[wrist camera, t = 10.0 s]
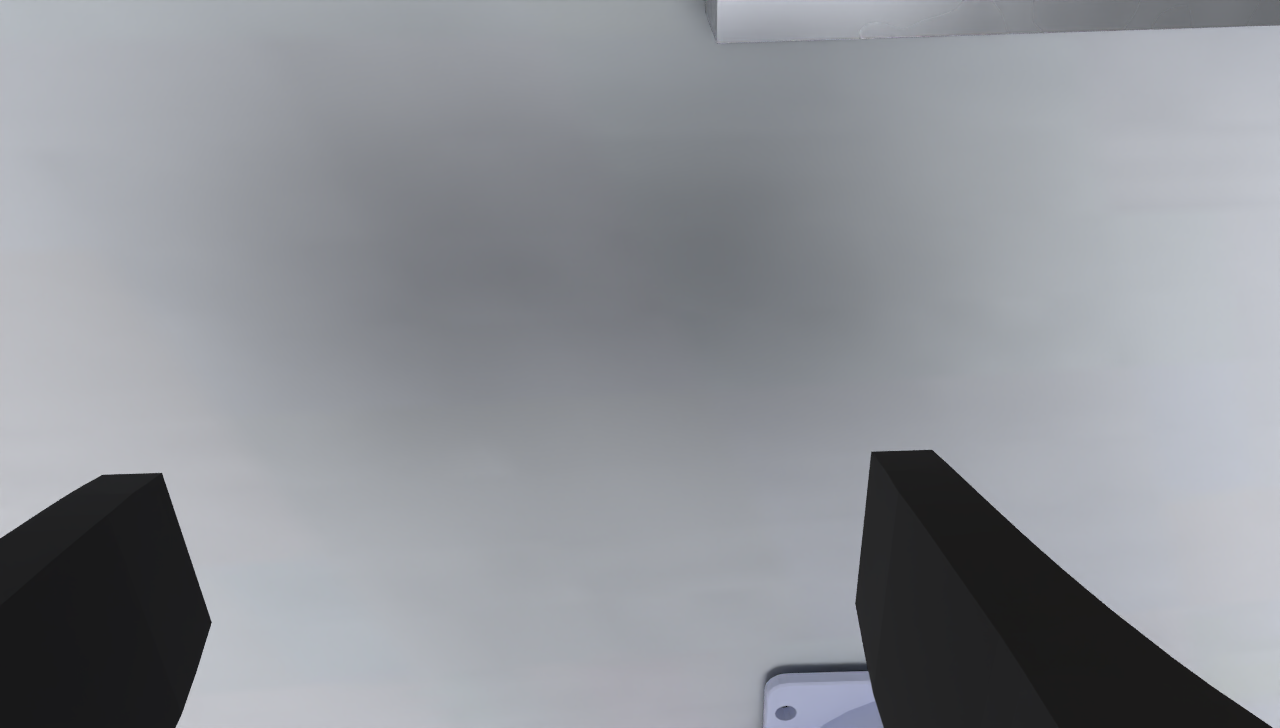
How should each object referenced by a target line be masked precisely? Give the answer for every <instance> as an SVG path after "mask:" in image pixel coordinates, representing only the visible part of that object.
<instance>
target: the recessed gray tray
mask: <svg viewBox="0 0 1280 728" xmlns="http://www.w3.org/2000/svg"><path fill="white" fill-rule="evenodd" d="M705 12H706V15H707V18H708V20H709V23H710V26H711V29H712V31H713V34H714V37H715V40H716V42H717V43H747V42H778V41H809V40H839V39H870V38H901V37H932V36H962V35H993V34H1024V33H1055V32H1085V31H1116V30H1147V29H1178V28H1208V27H1239V26H1270V25H1280V0H705Z"/></svg>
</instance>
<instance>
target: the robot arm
mask: <svg viewBox="0 0 1280 728" xmlns="http://www.w3.org/2000/svg"><path fill="white" fill-rule="evenodd" d="M855 604H856V610H857V615H858V620H859V626H860V631H861V636H862V642H863V647H864V652H865V657H866V662H867V667H868V671H852V672H817V673H785V674H779V675H776V676H774V677H772V678H771V679H770V680H769V681H768V682H767V683H766V686H765V691H764V712H763V728H1272V727H1271V726H1270V725H1268V724H1267V723H1265V722H1264V721H1262V720H1261V719H1259V718H1258V717H1256V716H1255V715H1253V714H1252V713H1250V712H1249V711H1247V710H1246V709H1245V708H1243V707H1242V706H1240V705H1239V704H1237V703H1236V702H1234V701H1233V700H1231V699H1230V698H1228V697H1227V696H1225V695H1224V694H1222V693H1221V692H1219V691H1218V690H1217V689H1215V688H1214V687H1212V686H1211V685H1209V684H1208V683H1207V682H1205V681H1204V680H1202V679H1201V678H1200V677H1198V676H1197V675H1195V674H1194V673H1193V672H1191V671H1190V670H1189V669H1187V668H1186V667H1184V666H1183V665H1182V664H1180V663H1179V662H1178V661H1176V660H1175V659H1174V658H1172V657H1171V656H1170V655H1168V654H1167V653H1166V652H1165V651H1163V650H1162V649H1161V648H1159V647H1158V646H1157V645H1156V644H1154V643H1153V642H1152V641H1150V640H1149V639H1148V638H1147V637H1145V636H1144V635H1143V634H1141V633H1140V632H1139V631H1138V630H1136V629H1135V628H1134V627H1132V626H1131V625H1130V624H1129V623H1127V622H1126V621H1125V620H1123V619H1122V618H1121V617H1120V616H1118V615H1117V614H1116V613H1114V612H1113V611H1112V610H1111V609H1110V608H1108V607H1107V606H1106V605H1105V604H1104V603H1102V602H1101V601H1100V600H1099V599H1097V598H1096V597H1095V596H1094V595H1093V594H1091V593H1090V592H1089V591H1088V590H1087V589H1085V588H1084V587H1083V586H1082V585H1081V584H1079V583H1078V582H1077V581H1076V580H1075V579H1074V578H1072V577H1071V576H1070V575H1069V574H1068V573H1067V572H1065V571H1064V570H1063V569H1062V568H1061V567H1060V566H1058V565H1057V564H1056V563H1055V562H1054V561H1053V560H1052V559H1050V558H1049V557H1048V556H1047V555H1046V554H1045V553H1044V552H1042V551H1041V550H1040V549H1039V548H1038V547H1037V546H1036V545H1035V544H1033V543H1032V542H1031V541H1030V540H1029V539H1028V538H1027V537H1026V536H1025V535H1023V534H1022V533H1021V532H1020V531H1019V530H1018V529H1017V528H1016V527H1015V526H1014V525H1012V524H1011V523H1010V522H1009V521H1008V520H1007V519H1006V518H1005V517H1004V516H1003V515H1002V514H1001V513H999V512H998V511H997V510H996V509H995V508H994V507H993V506H992V505H991V504H990V503H989V502H988V501H987V500H985V499H984V498H983V497H982V496H981V495H980V494H979V493H978V492H977V491H976V490H975V489H974V488H973V487H972V486H971V485H969V484H968V483H967V482H966V481H965V480H964V479H963V478H962V477H961V476H960V475H959V474H958V473H957V472H956V471H955V470H954V469H952V468H951V467H950V466H949V465H948V464H947V463H946V462H945V461H944V460H943V459H942V458H940V457H939V456H938V455H937V454H936V453H935V452H934V451H933V450H913V451H880V452H871V461H870V470H869V480H868V489H867V499H866V508H865V517H864V527H863V536H862V546H861V555H860V565H859V574H858V584H857V593H856V603H855ZM211 623H212V622H211V619H210V616H209V613H208V610H207V607H206V604H205V601H204V598H203V595H202V592H201V589H200V586H199V583H198V580H197V577H196V574H195V571H194V568H193V565H192V562H191V559H190V556H189V553H188V550H187V547H186V544H185V541H184V538H183V535H182V532H181V529H180V526H179V523H178V520H177V517H176V514H175V511H174V508H173V505H172V502H171V499H170V496H169V493H168V490H167V487H166V484H165V481H164V478H163V475H162V473H148V474H114V475H101V476H100V477H98V478H96V479H94V480H92V481H91V482H89V483H87V484H85V485H83V486H82V487H80V488H78V489H77V490H75V491H73V492H72V493H70V494H68V495H67V496H65V497H63V498H62V499H60V500H59V501H57V502H56V503H54V504H52V505H51V506H49V507H48V508H46V509H45V510H43V511H41V512H40V513H38V514H37V515H35V516H34V517H32V518H31V519H29V520H28V521H26V522H25V523H23V524H22V525H20V526H19V527H17V528H16V529H14V530H13V531H11V532H9V533H8V534H6V535H5V536H3V537H2V538H0V728H175V727H176V725H177V723H178V721H179V719H180V717H181V714H182V712H183V709H184V706H185V703H186V700H187V697H188V695H189V692H190V689H191V686H192V683H193V680H194V677H195V674H196V671H197V668H198V665H199V662H200V658H201V655H202V652H203V649H204V645H205V642H206V639H207V636H208V632H209V629H210V626H211ZM783 706H789V707H785V708H780V707H783Z"/></svg>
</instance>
